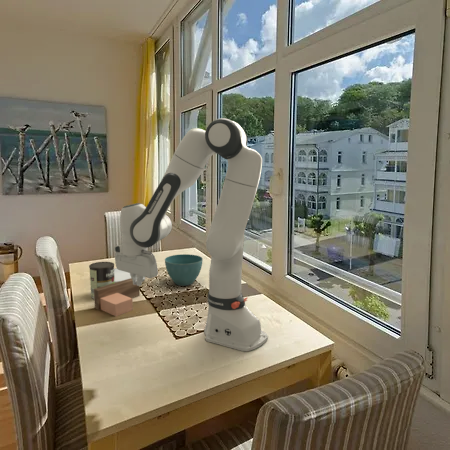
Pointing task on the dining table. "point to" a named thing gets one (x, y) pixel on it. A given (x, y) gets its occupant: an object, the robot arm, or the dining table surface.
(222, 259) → the robot arm
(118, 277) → the salad plate
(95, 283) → the coffee can
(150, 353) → the dining table surface
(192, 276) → the plant pot
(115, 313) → the terracotta block
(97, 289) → the walnut board
